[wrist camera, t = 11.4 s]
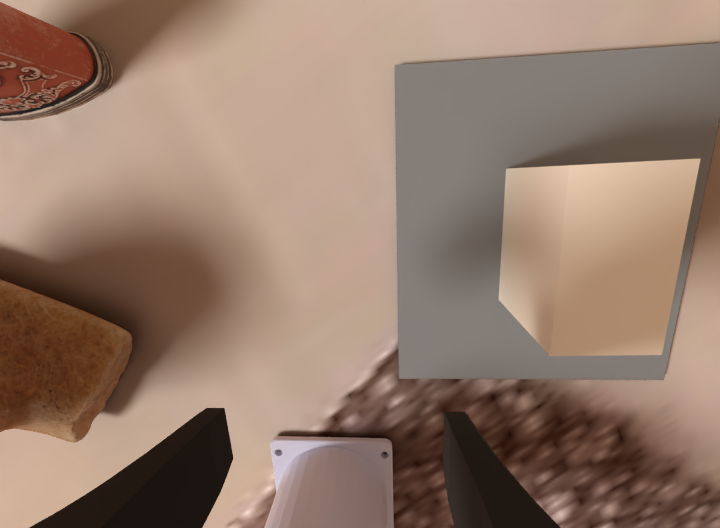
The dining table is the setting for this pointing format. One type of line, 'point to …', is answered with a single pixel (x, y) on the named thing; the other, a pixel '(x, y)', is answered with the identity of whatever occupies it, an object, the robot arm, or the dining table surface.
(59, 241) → the dining table surface
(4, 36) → the red patterned tin
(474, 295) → the slate mat
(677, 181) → the cream block
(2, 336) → the brown bookend
